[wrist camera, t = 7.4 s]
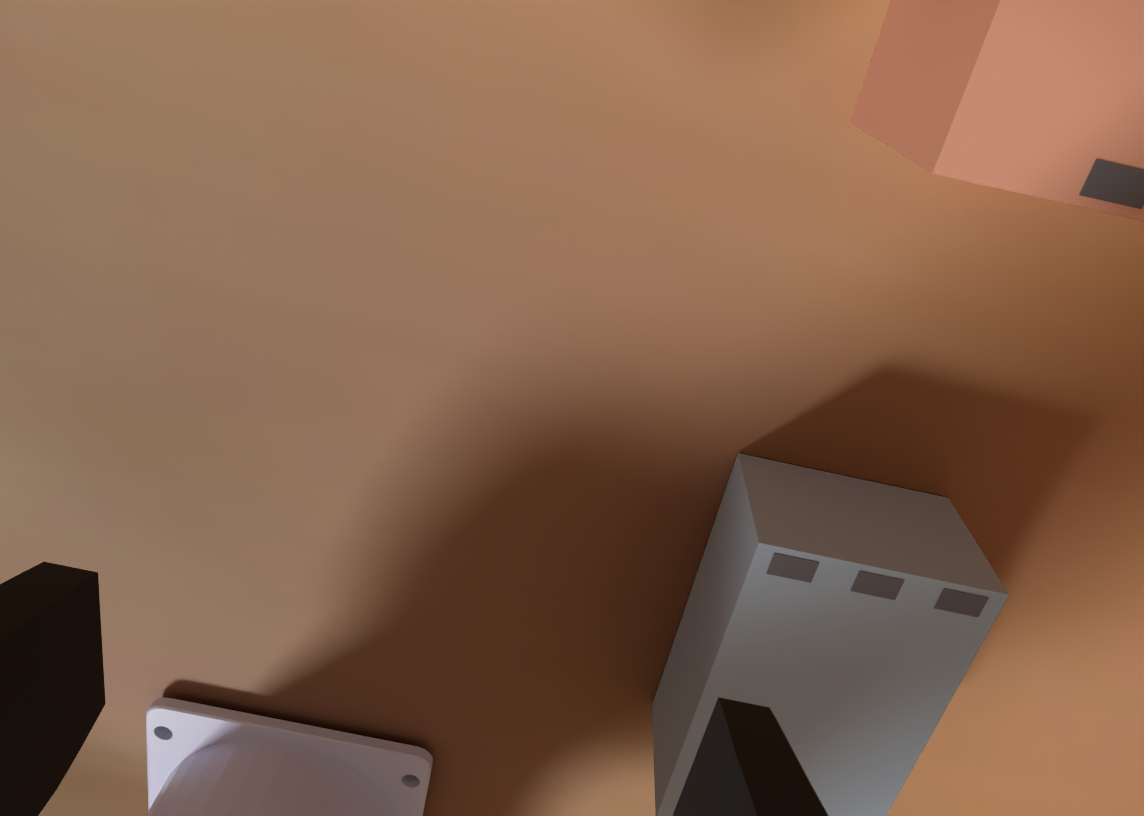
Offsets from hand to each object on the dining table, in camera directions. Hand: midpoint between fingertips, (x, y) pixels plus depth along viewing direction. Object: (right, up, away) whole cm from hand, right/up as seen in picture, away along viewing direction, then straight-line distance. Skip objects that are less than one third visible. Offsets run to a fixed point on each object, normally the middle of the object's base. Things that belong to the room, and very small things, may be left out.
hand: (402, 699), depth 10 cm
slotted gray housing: (+7, -2, +11) cm, 14 cm away
